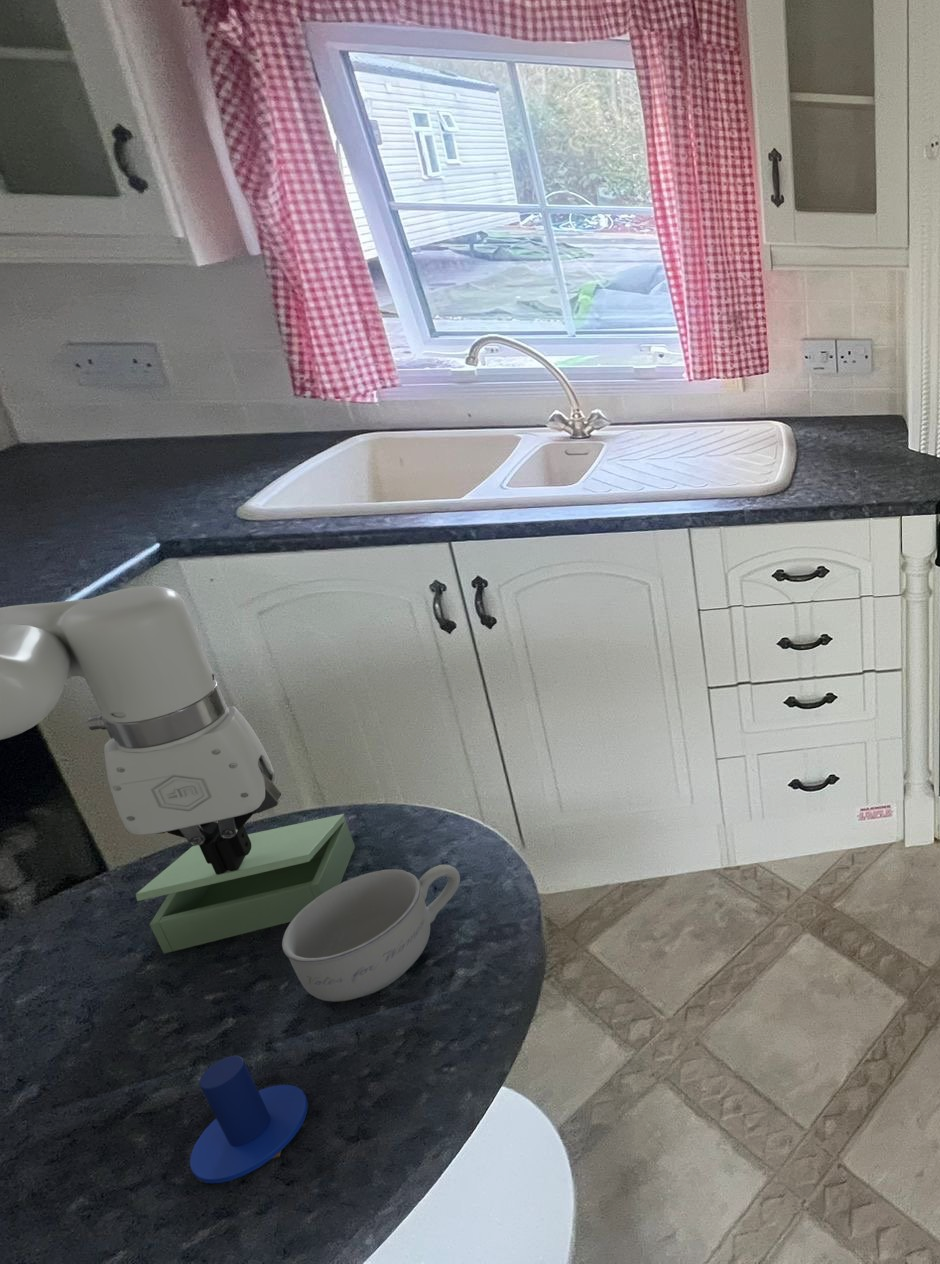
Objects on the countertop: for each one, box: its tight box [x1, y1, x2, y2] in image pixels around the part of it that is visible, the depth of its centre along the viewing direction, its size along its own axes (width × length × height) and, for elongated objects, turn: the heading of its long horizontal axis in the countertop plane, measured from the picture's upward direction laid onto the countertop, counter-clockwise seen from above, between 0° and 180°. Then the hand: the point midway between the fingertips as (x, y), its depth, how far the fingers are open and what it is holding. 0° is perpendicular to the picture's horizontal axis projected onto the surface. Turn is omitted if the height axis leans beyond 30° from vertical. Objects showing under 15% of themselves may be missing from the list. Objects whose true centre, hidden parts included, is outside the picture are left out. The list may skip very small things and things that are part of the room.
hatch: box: [135, 813, 346, 902], centre depth 87 cm, size 10×13×1 cm
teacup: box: [281, 864, 461, 1002], centre depth 82 cm, size 14×11×8 cm
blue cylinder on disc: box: [189, 1055, 309, 1184], centre depth 66 cm, size 7×7×8 cm
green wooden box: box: [149, 819, 356, 954], centre depth 88 cm, size 10×13×5 cm
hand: (233, 861), depth 83 cm, fingers closed
